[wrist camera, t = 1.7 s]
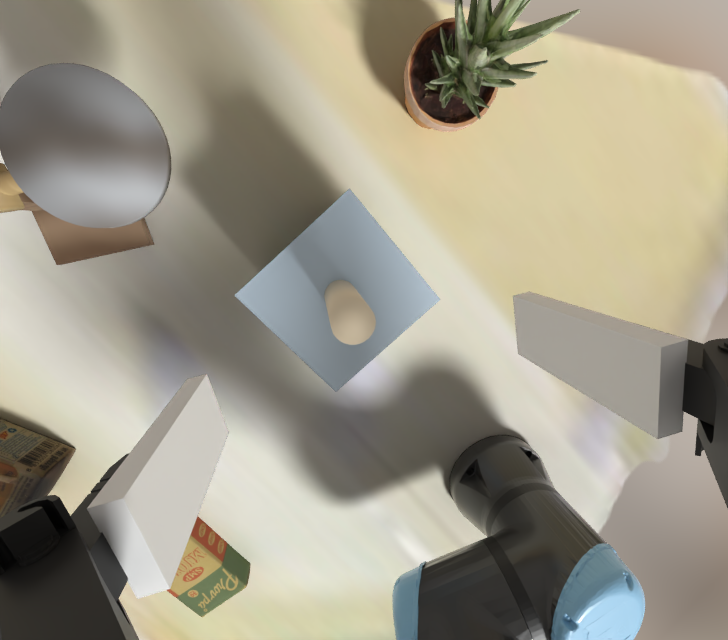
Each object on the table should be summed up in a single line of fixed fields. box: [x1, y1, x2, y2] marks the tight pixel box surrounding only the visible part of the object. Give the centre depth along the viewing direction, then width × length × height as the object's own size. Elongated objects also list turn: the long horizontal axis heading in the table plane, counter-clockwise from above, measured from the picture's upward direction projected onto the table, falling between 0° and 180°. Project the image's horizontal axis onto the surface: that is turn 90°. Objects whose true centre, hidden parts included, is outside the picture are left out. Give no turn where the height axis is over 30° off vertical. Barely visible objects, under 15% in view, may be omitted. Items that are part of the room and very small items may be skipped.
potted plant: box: [404, 0, 580, 132], centre depth 29 cm, size 10×10×25 cm
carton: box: [167, 516, 250, 617], centre depth 50 cm, size 8×16×4 cm, turn 33°
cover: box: [234, 188, 440, 392], centre depth 33 cm, size 12×13×24 cm
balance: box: [0, 63, 171, 265], centre depth 30 cm, size 12×29×17 cm, turn 102°
